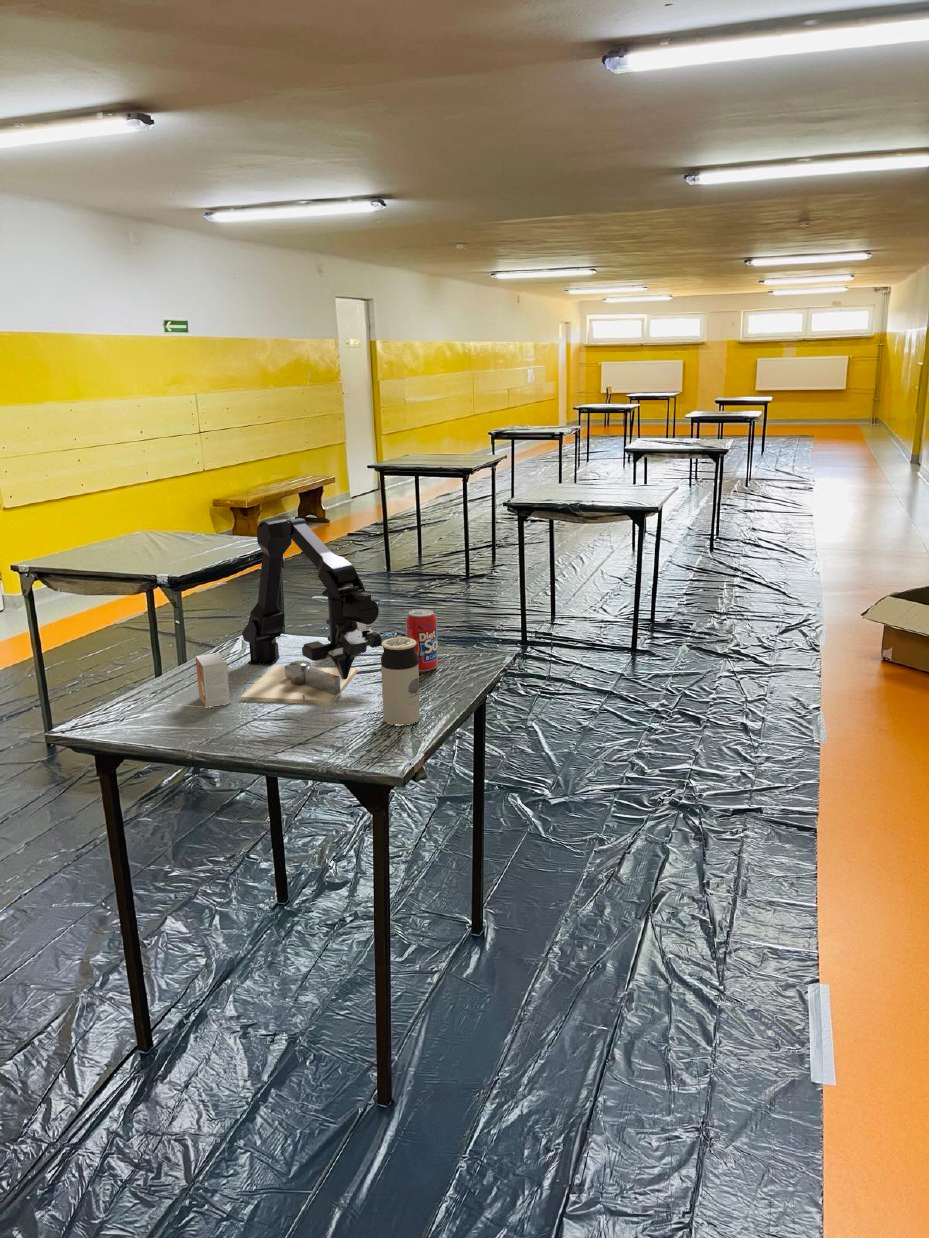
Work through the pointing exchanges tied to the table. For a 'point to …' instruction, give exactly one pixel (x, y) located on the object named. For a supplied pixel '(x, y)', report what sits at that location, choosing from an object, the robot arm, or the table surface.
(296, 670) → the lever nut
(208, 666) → the small box
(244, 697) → the base plate
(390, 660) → the travel mug
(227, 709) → the table surface
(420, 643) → the soda can
